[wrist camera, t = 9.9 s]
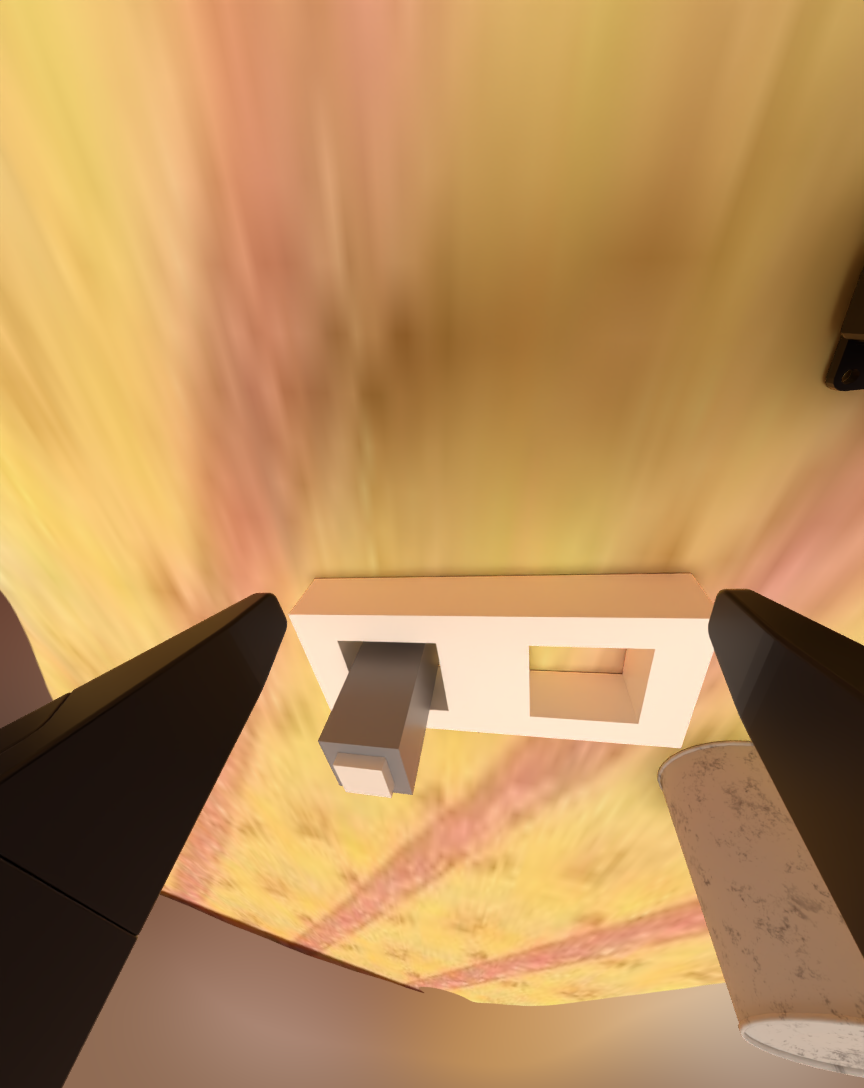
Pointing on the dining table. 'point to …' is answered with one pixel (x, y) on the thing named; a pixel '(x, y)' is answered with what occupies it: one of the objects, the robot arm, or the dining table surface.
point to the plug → (381, 718)
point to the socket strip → (527, 648)
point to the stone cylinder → (767, 909)
